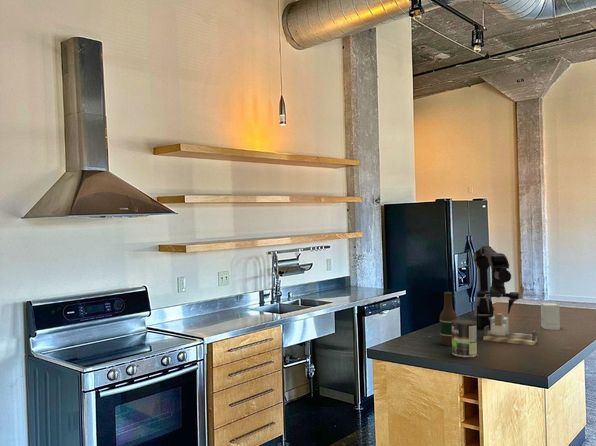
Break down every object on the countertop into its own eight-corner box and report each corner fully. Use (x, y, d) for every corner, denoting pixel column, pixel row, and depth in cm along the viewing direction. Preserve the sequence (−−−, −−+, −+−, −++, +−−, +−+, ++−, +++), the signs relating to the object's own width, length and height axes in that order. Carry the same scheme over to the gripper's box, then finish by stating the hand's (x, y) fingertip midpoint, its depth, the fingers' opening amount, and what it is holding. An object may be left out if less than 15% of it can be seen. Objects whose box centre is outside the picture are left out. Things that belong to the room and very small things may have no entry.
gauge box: (490, 334, 252) (490, 318, 252) (493, 331, 258) (493, 316, 258) (505, 335, 249) (505, 319, 249) (508, 333, 254) (508, 317, 254)
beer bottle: (457, 342, 237) (456, 291, 237) (457, 346, 230) (456, 293, 230) (440, 341, 240) (439, 290, 240) (439, 345, 232) (438, 292, 232)
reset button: (495, 320, 253) (495, 314, 253) (497, 319, 255) (496, 313, 255) (502, 320, 251) (502, 314, 251) (503, 319, 254) (503, 313, 254)
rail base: (483, 340, 241) (483, 328, 241) (488, 335, 249) (487, 324, 249) (533, 345, 229) (533, 333, 229) (537, 340, 237) (536, 329, 237)
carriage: (490, 334, 241) (490, 315, 241) (493, 332, 246) (493, 313, 246) (504, 335, 238) (503, 316, 238) (506, 333, 243) (506, 314, 243)
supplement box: (560, 330, 260) (559, 305, 260) (544, 329, 261) (544, 305, 261) (556, 327, 267) (555, 303, 267) (540, 326, 268) (540, 302, 268)
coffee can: (457, 357, 211) (456, 323, 211) (448, 351, 221) (447, 319, 221) (481, 356, 211) (480, 323, 211) (471, 350, 222) (470, 318, 222)
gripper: (473, 281, 240) (474, 313, 240) (515, 282, 230) (516, 317, 230) (479, 278, 249) (479, 310, 249) (520, 280, 239) (520, 313, 239)
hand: (498, 312), depth 242 cm, fingers open, 9 cm apart
